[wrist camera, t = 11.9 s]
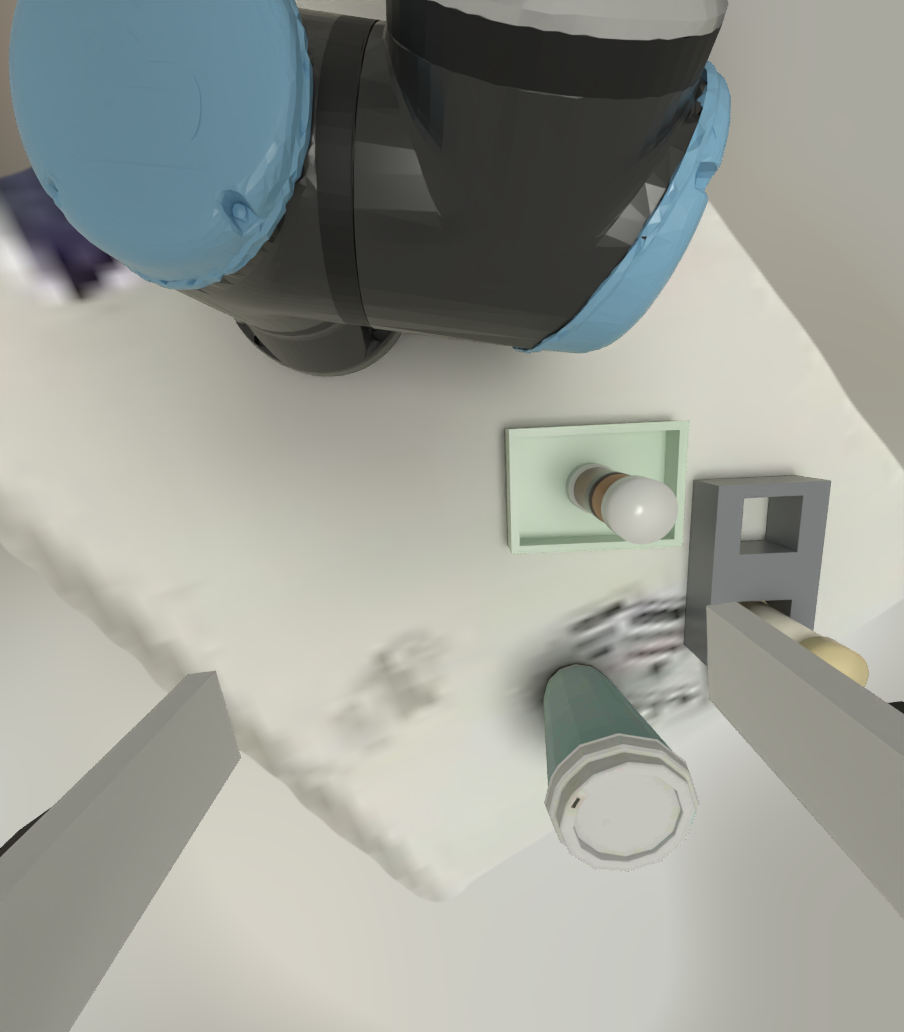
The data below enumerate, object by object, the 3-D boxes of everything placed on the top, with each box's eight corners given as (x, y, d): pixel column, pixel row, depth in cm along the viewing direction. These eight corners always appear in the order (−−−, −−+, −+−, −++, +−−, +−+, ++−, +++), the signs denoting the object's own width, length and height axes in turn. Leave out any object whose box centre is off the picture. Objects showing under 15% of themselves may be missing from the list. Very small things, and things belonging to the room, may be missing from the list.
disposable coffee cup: (648, 670, 45) (743, 792, 30) (596, 757, 47) (661, 911, 32) (551, 628, 44) (600, 732, 29) (502, 718, 46) (525, 858, 31)
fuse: (712, 588, 43) (810, 650, 31) (757, 586, 43) (872, 648, 31) (709, 629, 44) (803, 705, 32) (753, 627, 44) (864, 703, 32)
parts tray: (505, 428, 40) (508, 429, 37) (671, 420, 40) (689, 420, 37) (507, 545, 42) (511, 554, 39) (666, 538, 42) (682, 546, 39)
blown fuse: (565, 463, 40) (611, 480, 28) (613, 461, 40) (679, 477, 28) (565, 510, 41) (610, 545, 29) (612, 508, 41) (676, 542, 29)
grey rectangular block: (693, 479, 41) (718, 485, 37) (794, 475, 41) (831, 480, 37) (683, 644, 44) (706, 665, 40) (777, 640, 44) (809, 661, 40)
